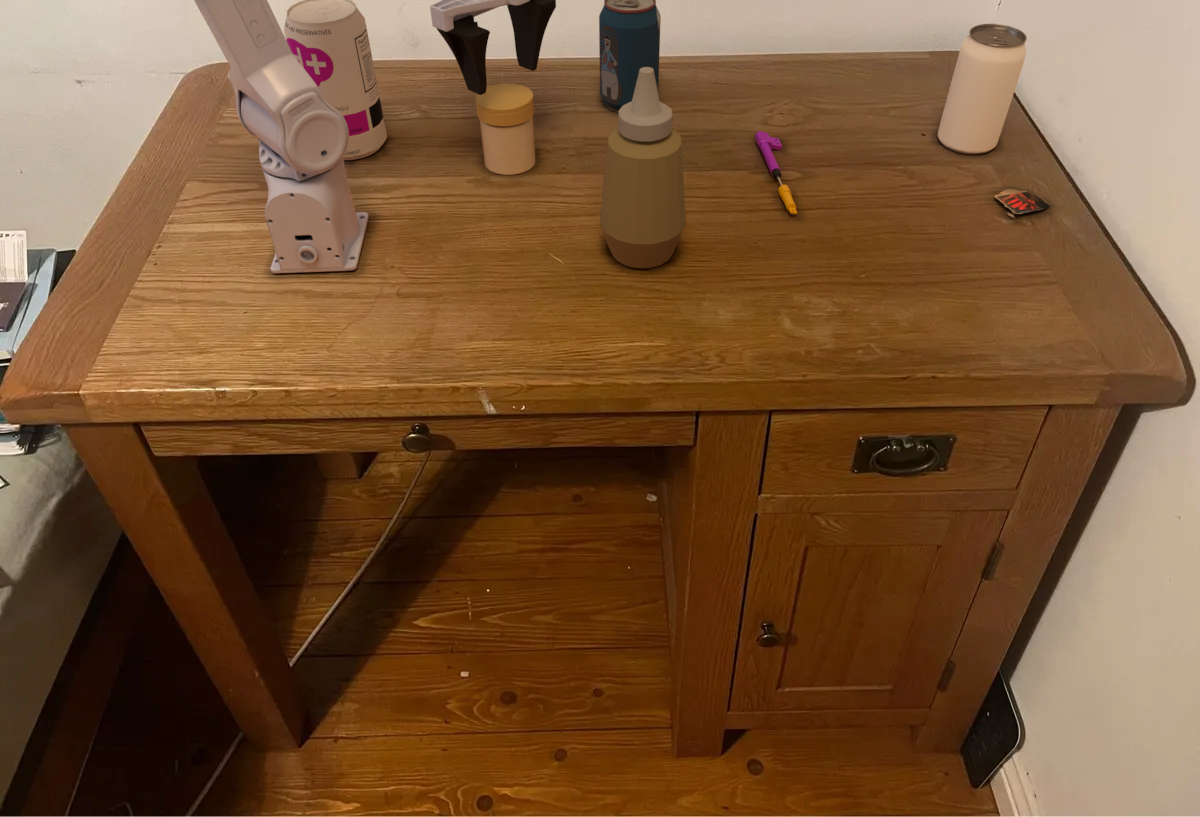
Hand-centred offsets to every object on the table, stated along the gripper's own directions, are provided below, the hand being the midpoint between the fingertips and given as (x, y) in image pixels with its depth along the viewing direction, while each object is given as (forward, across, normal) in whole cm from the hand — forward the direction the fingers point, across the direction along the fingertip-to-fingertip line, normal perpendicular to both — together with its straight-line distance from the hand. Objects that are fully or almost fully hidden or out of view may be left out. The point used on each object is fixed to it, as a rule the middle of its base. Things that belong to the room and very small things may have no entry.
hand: (502, 79), depth 94 cm
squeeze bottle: (+10, -4, -22) cm, 24 cm away
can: (+10, +37, -35) cm, 52 cm away
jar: (+9, 0, 0) cm, 9 cm away
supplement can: (+10, -9, +16) cm, 21 cm away
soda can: (+10, +19, -1) cm, 21 cm away
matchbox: (+10, +28, -45) cm, 54 cm away
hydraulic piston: (+10, +17, -24) cm, 31 cm away
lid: (+2, 0, 0) cm, 2 cm away
